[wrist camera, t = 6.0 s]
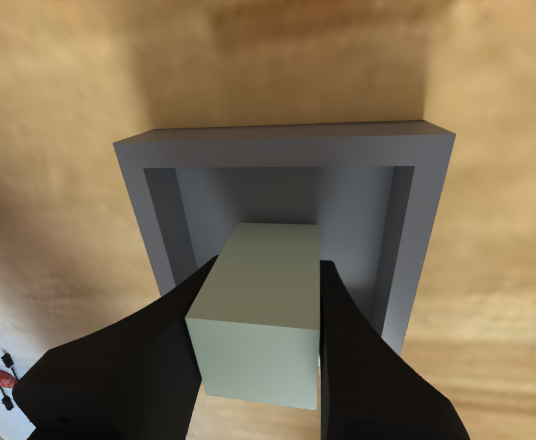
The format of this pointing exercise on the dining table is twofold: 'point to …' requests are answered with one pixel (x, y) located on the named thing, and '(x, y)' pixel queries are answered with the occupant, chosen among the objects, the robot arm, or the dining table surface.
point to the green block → (261, 316)
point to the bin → (296, 200)
